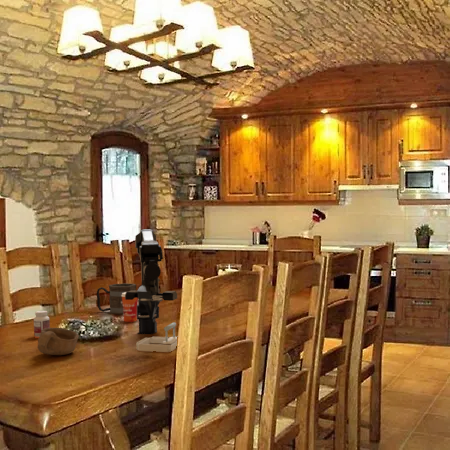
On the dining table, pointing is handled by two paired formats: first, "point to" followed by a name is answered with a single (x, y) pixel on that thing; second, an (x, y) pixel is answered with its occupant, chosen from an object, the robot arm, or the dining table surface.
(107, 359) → the dining table surface
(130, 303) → the paper cup
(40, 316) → the pill bottle
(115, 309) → the mug
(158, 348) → the beige square tray
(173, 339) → the grey lever handle
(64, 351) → the bowl
